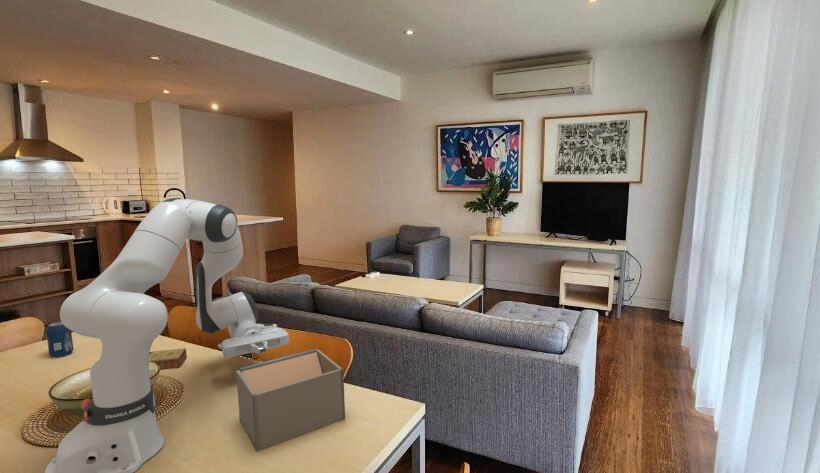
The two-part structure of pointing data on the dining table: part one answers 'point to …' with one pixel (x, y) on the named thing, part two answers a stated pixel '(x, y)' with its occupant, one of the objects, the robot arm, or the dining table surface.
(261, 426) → the open carton
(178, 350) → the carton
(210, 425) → the dining table surface
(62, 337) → the blue can
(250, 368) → the flap
